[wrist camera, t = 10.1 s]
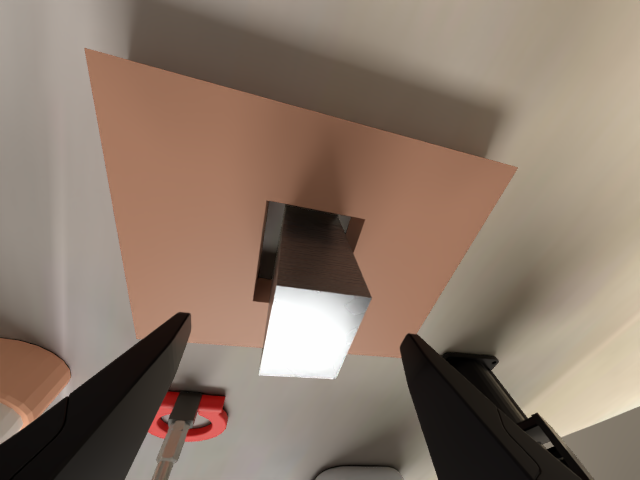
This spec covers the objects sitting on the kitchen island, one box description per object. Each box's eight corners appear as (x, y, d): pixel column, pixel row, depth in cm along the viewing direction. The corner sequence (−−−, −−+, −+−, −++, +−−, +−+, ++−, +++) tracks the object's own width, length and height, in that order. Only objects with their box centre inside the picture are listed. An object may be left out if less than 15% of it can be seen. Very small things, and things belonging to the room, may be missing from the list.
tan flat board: (484, 159, 15) (518, 167, 12) (391, 333, 22) (401, 357, 19) (127, 61, 11) (84, 47, 9) (156, 311, 18) (136, 338, 16)
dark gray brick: (337, 215, 15) (372, 297, 8) (319, 274, 18) (335, 379, 11) (285, 204, 15) (276, 285, 8) (273, 268, 17) (258, 375, 10)
